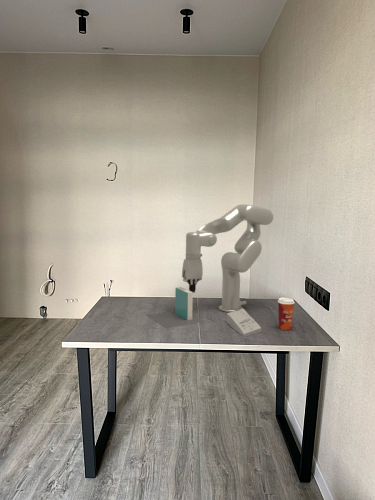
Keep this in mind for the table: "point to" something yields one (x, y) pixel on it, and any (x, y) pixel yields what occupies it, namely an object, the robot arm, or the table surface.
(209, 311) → the table surface
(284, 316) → the paper cup
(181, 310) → the tile
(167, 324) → the mat
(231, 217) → the robot arm
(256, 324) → the ramp
